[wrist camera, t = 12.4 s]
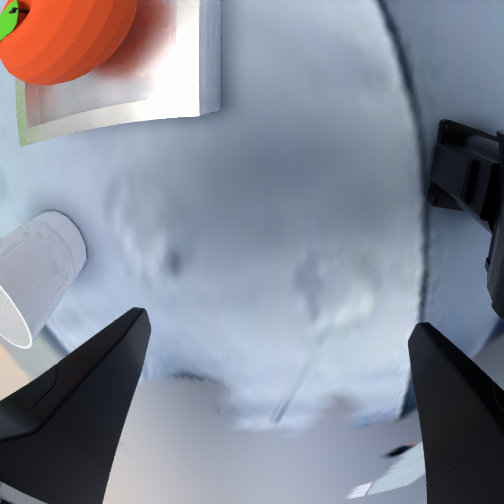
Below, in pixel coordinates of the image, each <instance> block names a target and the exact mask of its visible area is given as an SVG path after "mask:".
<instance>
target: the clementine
mask: <svg viewBox="0 0 504 504" xmlns="http://www.w3.org/2000/svg"><path fill="white" fill-rule="evenodd" d="M136 8H137V0H8V2H7V3H6V5H5V7H4V9H3V11H2V13H1V15H0V59H1V61H2V63H3V64H4V66H5V67H6V69H7V70H8V72H9V73H11V74H12V75H13V76H15V77H16V78H18V79H20V80H22V81H24V82H26V83H30V84H37V85H49V86H50V85H55V84H60V83H64V82H68V81H71V80H75V79H77V78H79V77H81V76H83V75H85V74H87V73H89V72H90V71H92V70H93V69H94V68H96V67H97V66H99V65H100V64H101V63H103V62H104V61H105V60H107V59H108V58H109V57H110V56H111V55H112V54H113V53H114V52H115V50H116V49H117V48H118V47H119V46H120V44H121V43H122V41H123V40H124V38H125V37H126V36H127V34H128V32H129V30H130V28H131V25H132V23H133V21H134V18H135V13H136Z"/></svg>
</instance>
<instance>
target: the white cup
mask: <svg viewBox="0 0 504 504" xmlns="http://www.w3.org/2000/svg"><path fill="white" fill-rule="evenodd" d="M86 259H87V256H86V245H85V242H84V240H83V238H82V236H81V233H80V231H79V229H78V228H77V227H76V226H75V225H74V224H73V222H72V221H71V220H70V219H69V218H68V217H66V216H65V215H63V214H61V213H59V212H57V211H45V212H43V213H42V214H40V215H39V216H37V217H36V218H34V219H33V220H31V221H30V222H28V223H26V224H24V225H21V226H20V227H18V228H17V229H15V230H14V231H13V232H11V233H9V234H8V235H6V236H5V237H3V238H2V239H0V335H1V336H2V337H3V338H4V339H6V340H7V341H8V342H10V343H11V344H13V345H15V346H17V347H19V348H23V349H28V348H30V347H31V346H32V344H33V343H34V341H35V339H36V338H37V336H38V334H39V333H40V331H41V330H42V328H43V326H44V325H45V323H46V322H47V320H48V319H49V317H50V316H51V314H52V313H53V311H54V310H55V308H56V307H57V305H58V304H59V302H60V301H61V299H62V298H63V296H64V295H65V293H66V292H67V291H68V289H69V288H70V286H71V284H72V282H73V281H74V279H75V278H76V277H77V275H78V274H79V273H80V272H81V270H82V269H83V266H84V264H85V262H86Z"/></svg>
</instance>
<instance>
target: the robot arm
mask: <svg viewBox="0 0 504 504" xmlns="http://www.w3.org/2000/svg"><path fill="white" fill-rule="evenodd" d="M446 124H448V128H447V129H446ZM431 180H432V181H431V186H430V190H429V195H428V202H429V203H430V204H431V205H432V206H435V207H442V208H449V209H455V210H462V211H465V212H467V213H468V214H469V215H470V216H472V217H473V218H474V219H475V220H476V221H477V222H479V223H480V224H481V225H482V226H483V227H484V228H486V229H487V230H488V231H489V232H490V233H491V234H492V238H491V244H490V249H489V255H488V257H487V258H486V262H485V268H486V270H487V273H488V275H487V288H488V291H489V294H490V296H491V299H492V304H491V306H492V308H493V309H494V311H495V312H496V313H497V314H498V316H499V317H500V318H501V319H502V320H503V321H504V131H502V130H497V137H495V136H492V135H490V134H487V133H485V132H482V131H479V130H477V129H474V128H471V127H469V126H466V125H463V124H460V123H457V122H454V121H451V120H447V119H443V120H442V121H441V122H440V128H439V137H438V144H437V146H436V152H435V158H434V164H433V170H432V175H431ZM434 197H436V199H435V201H433V199H434ZM150 334H151V325H150V321H149V318H148V314H147V311H146V310H145V309H144V308H138V307H133V308H132V309H130V310H129V311H127V312H126V313H125V314H123V315H122V316H120V317H119V318H118V319H116V320H115V321H114V322H112V323H111V324H109V325H108V326H107V327H105V328H104V329H103V330H101V331H100V332H98V333H97V334H96V335H94V336H93V337H92V338H90V339H89V340H88V341H86V342H85V343H83V344H82V345H81V346H79V347H78V348H77V349H75V350H74V351H73V352H71V353H70V354H69V355H67V356H66V357H65V358H63V359H62V360H61V361H59V362H58V364H55V365H54V366H53V367H51V368H50V369H49V370H47V371H46V372H44V373H43V374H42V375H40V376H39V377H37V378H36V379H34V380H33V381H31V382H30V383H28V384H27V385H25V386H24V387H22V388H20V389H19V390H17V391H16V392H14V393H12V394H11V395H9V396H7V397H6V398H4V399H2V400H1V401H0V504H102V503H103V499H104V494H105V491H106V486H107V482H108V479H109V475H110V474H109V473H110V471H111V467H112V463H113V460H114V456H115V452H116V449H117V446H118V443H119V439H120V436H121V433H122V429H123V426H124V423H125V420H126V417H127V413H128V410H129V407H130V404H131V401H132V398H133V395H134V392H135V389H136V386H137V383H138V381H139V378H140V375H141V371H142V368H143V363H144V359H145V355H146V350H147V346H148V342H149V338H150ZM408 349H409V356H410V364H411V373H412V381H413V387H414V392H415V397H416V403H417V408H418V414H419V420H420V427H421V434H422V441H423V450H424V459H425V470H426V483H427V484H426V486H427V504H504V391H503V390H502V389H501V388H500V387H499V386H498V385H497V384H496V383H495V382H494V381H493V380H492V379H491V378H490V377H489V376H488V375H487V374H486V373H485V372H483V370H481V369H480V368H479V367H478V366H477V365H476V364H475V363H474V362H473V361H472V360H471V359H470V358H469V357H467V356H466V355H465V354H464V353H463V352H462V351H461V350H460V349H459V348H457V347H456V346H455V345H454V344H453V343H452V342H451V341H450V340H448V339H447V338H446V337H445V336H444V335H443V334H442V333H440V332H439V331H438V330H437V329H436V328H435V327H433V326H432V325H431V324H430V323H428V322H419V323H417V324H416V326H415V328H414V330H413V332H412V334H411V336H410V338H409V340H408Z"/></svg>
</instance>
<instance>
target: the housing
mask: <svg viewBox="0 0 504 504" xmlns="http://www.w3.org/2000/svg"><path fill="white" fill-rule="evenodd" d="M221 9H222V0H137V8H136V13H135V18H134V21H133V23H132V25H131V28H130V30H129V32H128V34H127V36H126V37H125V38H124V40H123V41H122V43H121V44H120V46H119V47H118V48H117V49H116V50H115V52H114V53H113V54H112V55H111V56H110V57H109V58H108V59H107V60H105V61H104V62H103V63H101V64H100V65H99V66H97V67H96V68H94V69H93V70H92V71H90V72H89V73H87V74H85V75H83V76H81V77H79V78H77V79H75V80H71V81H68V82H64V83H60V84H55V85H50V86H49V85H37V84H30V83H26V82H24V81H22V80H20V79H18V78H16V107H17V120H18V131H19V139H20V147H23V146H26V145H29V144H33V143H36V142H39V141H43V140H47V139H50V138H54V137H58V136H62V135H66V134H71V133H75V132H80V131H84V130H89V129H94V128H100V127H105V126H111V125H117V124H123V123H130V122H137V121H145V120H154V119H163V118H174V117H187V116H200V115H204V114H208V113H212V112H216V111H220V110H221Z"/></svg>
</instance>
